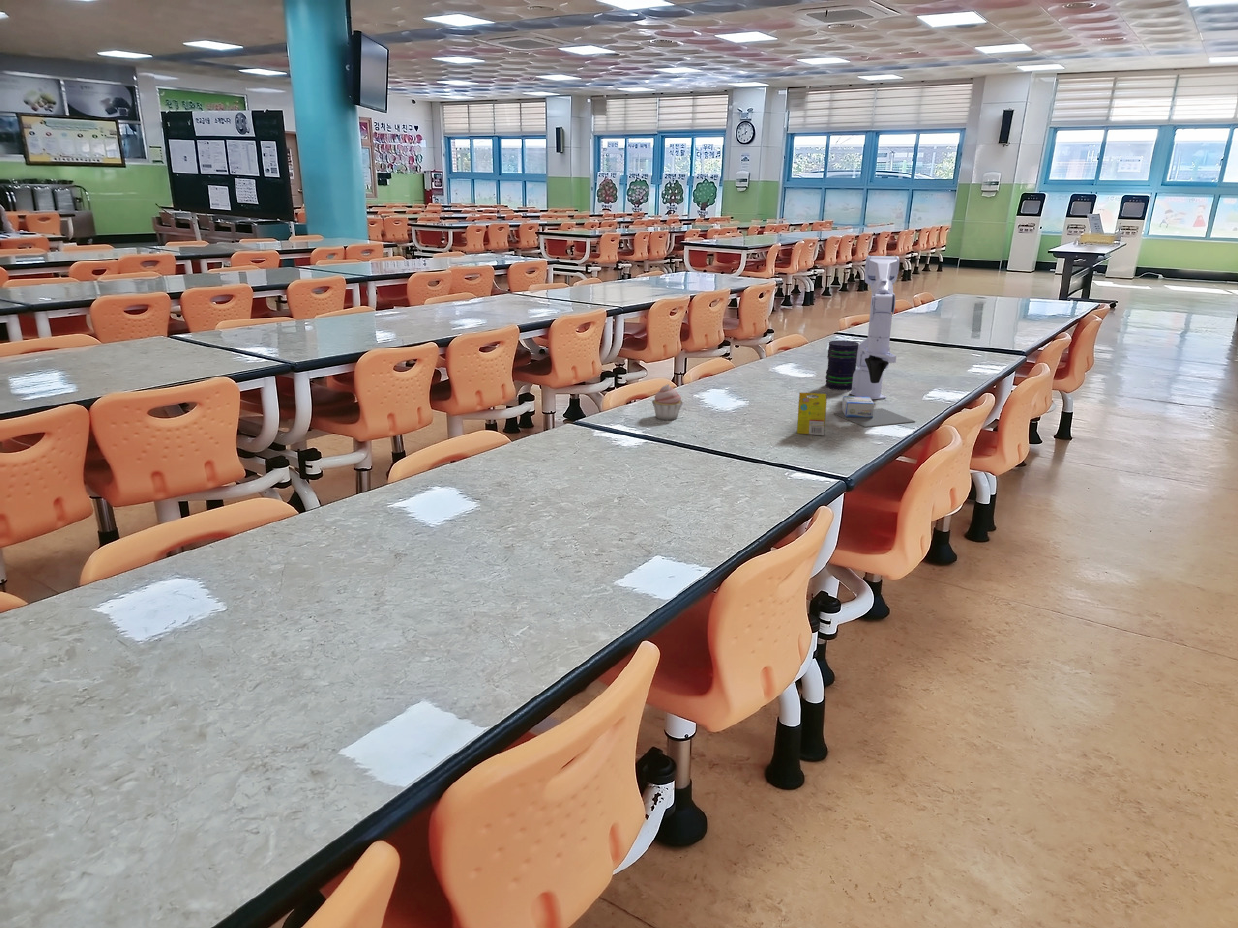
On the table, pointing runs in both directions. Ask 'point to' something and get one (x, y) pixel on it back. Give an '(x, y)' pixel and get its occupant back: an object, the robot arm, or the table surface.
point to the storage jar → (841, 364)
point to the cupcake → (667, 403)
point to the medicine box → (857, 406)
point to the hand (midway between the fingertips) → (874, 382)
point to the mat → (877, 418)
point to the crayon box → (811, 414)
